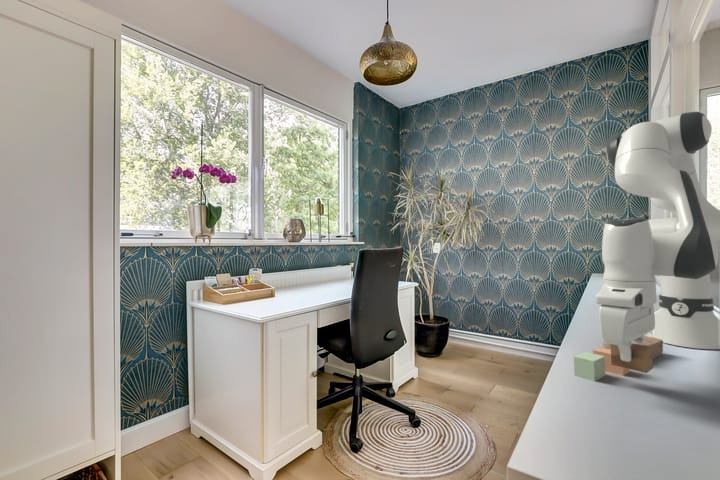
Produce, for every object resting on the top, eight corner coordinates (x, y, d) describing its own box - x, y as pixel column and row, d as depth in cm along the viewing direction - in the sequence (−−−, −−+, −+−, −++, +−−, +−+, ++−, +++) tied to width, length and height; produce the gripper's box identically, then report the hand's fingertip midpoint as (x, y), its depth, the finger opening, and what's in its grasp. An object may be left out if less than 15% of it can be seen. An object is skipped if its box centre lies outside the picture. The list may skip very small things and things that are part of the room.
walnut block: (611, 364, 72) (610, 344, 72) (618, 360, 74) (617, 340, 74) (646, 373, 67) (645, 350, 67) (652, 368, 69) (651, 346, 69)
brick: (638, 367, 82) (637, 348, 83) (600, 357, 90) (599, 340, 90) (664, 356, 91) (663, 339, 91) (627, 348, 98) (627, 332, 98)
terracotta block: (593, 368, 81) (593, 350, 81) (600, 365, 83) (599, 347, 84) (623, 376, 76) (622, 356, 76) (629, 372, 79) (629, 353, 79)
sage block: (585, 370, 80) (585, 351, 80) (605, 375, 77) (604, 356, 77) (574, 376, 77) (574, 356, 77) (594, 381, 73) (593, 361, 73)
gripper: (628, 287, 79) (630, 344, 79) (592, 296, 68) (594, 364, 68) (662, 289, 74) (665, 351, 74) (630, 300, 63) (633, 373, 62)
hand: (631, 357), depth 71 cm, fingers closed on walnut block, 4 cm apart
